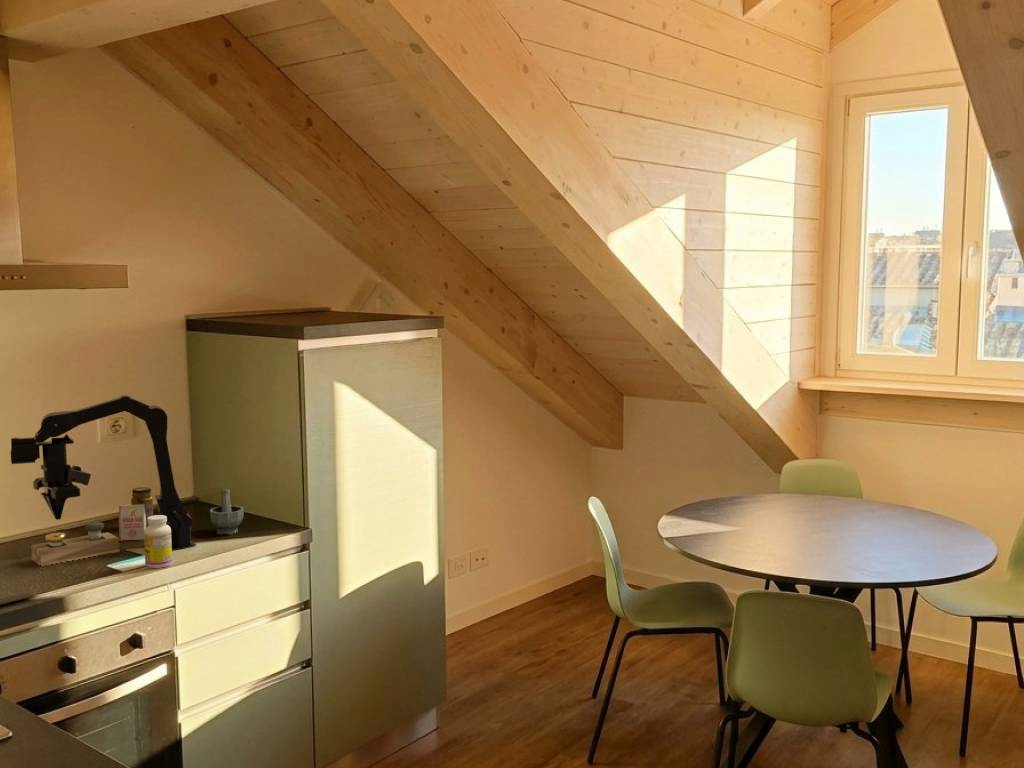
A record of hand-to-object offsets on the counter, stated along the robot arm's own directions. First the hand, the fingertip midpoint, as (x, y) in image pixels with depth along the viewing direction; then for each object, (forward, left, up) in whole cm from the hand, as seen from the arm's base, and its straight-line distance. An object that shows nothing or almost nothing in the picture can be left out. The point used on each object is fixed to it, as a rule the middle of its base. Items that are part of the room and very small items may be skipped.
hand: (58, 519), depth 257 cm
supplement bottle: (-23, -17, -11) cm, 31 cm away
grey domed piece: (0, -9, -7) cm, 12 cm away
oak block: (0, -4, -11) cm, 12 cm away
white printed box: (+7, -22, -11) cm, 26 cm away
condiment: (+17, -29, -11) cm, 36 cm away
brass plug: (0, +1, -8) cm, 8 cm away
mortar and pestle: (-3, -46, -11) cm, 48 cm away
